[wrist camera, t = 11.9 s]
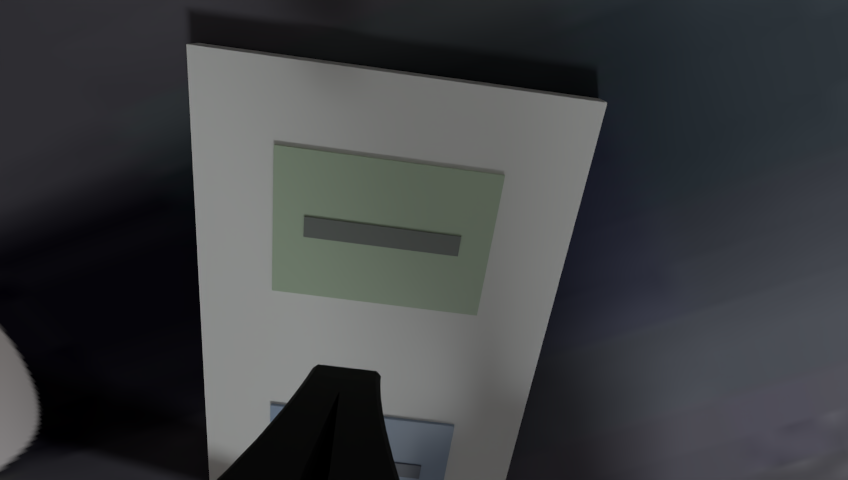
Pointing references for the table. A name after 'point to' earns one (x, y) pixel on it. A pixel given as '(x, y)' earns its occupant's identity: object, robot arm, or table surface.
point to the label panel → (380, 245)
